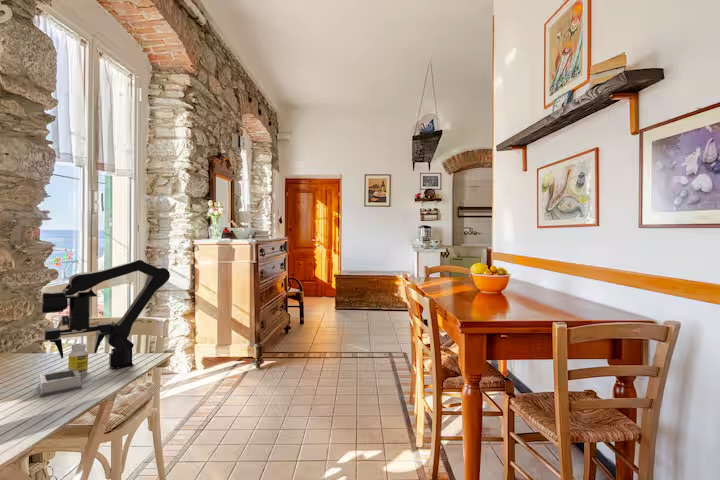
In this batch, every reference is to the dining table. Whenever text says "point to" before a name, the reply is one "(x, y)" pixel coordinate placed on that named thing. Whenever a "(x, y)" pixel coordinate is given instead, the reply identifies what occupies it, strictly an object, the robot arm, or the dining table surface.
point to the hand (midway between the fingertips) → (78, 355)
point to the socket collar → (59, 382)
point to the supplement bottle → (78, 358)
